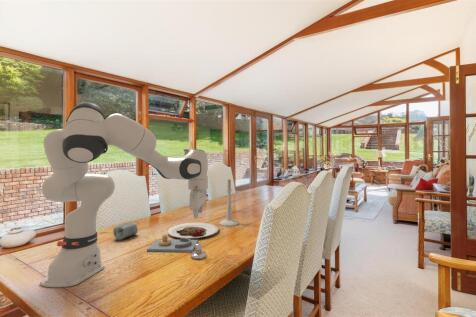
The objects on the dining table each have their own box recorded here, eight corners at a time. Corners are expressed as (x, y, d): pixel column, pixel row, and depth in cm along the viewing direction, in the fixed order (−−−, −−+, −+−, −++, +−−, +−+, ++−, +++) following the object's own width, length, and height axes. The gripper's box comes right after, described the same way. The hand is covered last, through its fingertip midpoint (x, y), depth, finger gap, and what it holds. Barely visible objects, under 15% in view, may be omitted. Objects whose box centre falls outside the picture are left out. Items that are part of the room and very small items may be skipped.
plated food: (190, 223, 177) (190, 218, 177) (228, 229, 162) (228, 224, 162) (156, 235, 151) (156, 229, 151) (197, 244, 136) (197, 238, 136)
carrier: (192, 252, 126) (192, 240, 125) (147, 251, 126) (146, 239, 126) (197, 242, 140) (197, 231, 139) (157, 241, 140) (157, 230, 140)
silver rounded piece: (204, 260, 117) (204, 246, 117) (189, 259, 117) (189, 246, 117) (207, 254, 124) (207, 241, 124) (192, 253, 124) (192, 241, 124)
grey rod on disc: (235, 220, 183) (235, 177, 182) (241, 225, 171) (241, 179, 170) (217, 222, 179) (217, 178, 178) (222, 227, 167) (222, 180, 166)
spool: (120, 237, 138) (119, 218, 142) (109, 242, 141) (108, 224, 146) (142, 236, 149) (140, 219, 153) (131, 241, 153) (130, 225, 157)
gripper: (200, 188, 109) (200, 221, 109) (208, 182, 129) (208, 210, 129) (185, 188, 109) (185, 221, 109) (195, 182, 129) (195, 210, 130)
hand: (198, 215), depth 120 cm, fingers open, 8 cm apart
